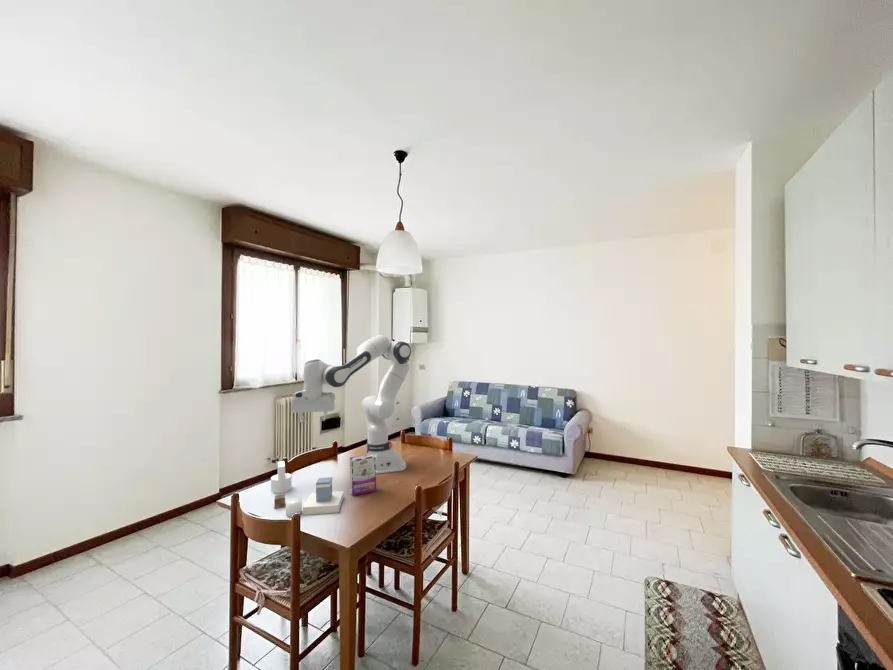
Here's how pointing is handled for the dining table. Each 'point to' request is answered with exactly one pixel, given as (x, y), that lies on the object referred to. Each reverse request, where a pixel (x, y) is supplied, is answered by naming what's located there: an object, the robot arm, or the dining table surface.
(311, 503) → the podium
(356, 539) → the dining table surface
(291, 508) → the white rounded block
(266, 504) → the dining table surface
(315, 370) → the robot arm
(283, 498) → the walnut block
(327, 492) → the carton
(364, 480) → the candy bar box
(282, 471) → the base with upright slab
